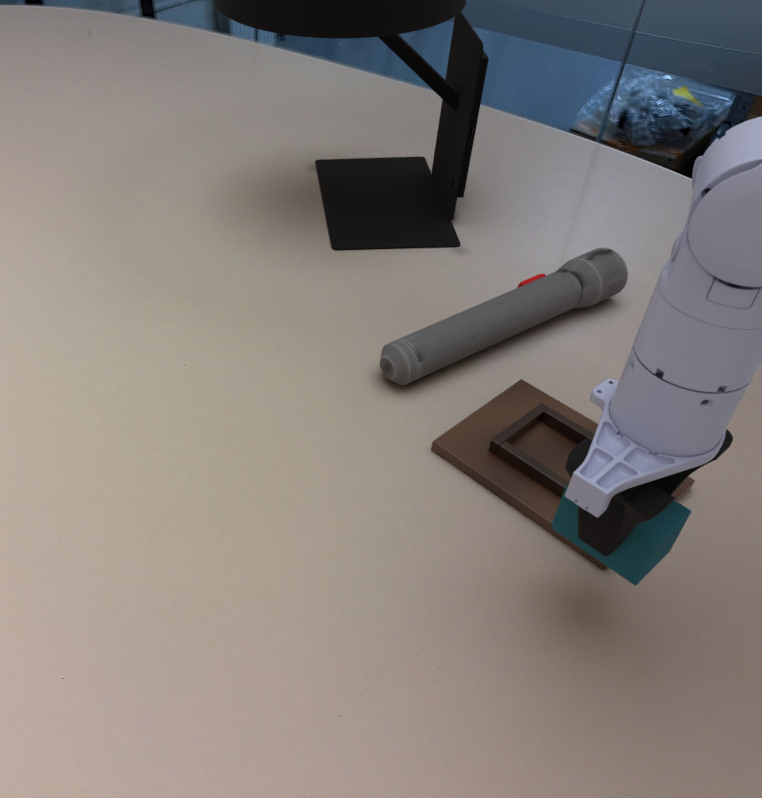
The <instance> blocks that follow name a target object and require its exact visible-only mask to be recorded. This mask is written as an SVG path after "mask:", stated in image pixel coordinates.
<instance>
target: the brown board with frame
mask: <svg viewBox="0 0 762 798" xmlns="http://www.w3.org/2000/svg"><path fill="white" fill-rule="evenodd" d="M598 424H599V423H597V422H596V421H594V420H592V419H591V418H588V417H587V416H585V415H584V414H582V413H580V412H578V411H577V410H575V409H573V408H571V407H570V406H568V405H567V404H564V403H563V402H561V401H560V400H558V399H556V398H555V397H553V396H551V395H550V394H548V393H546V392H545V391H542V390H541V389H540V388H537V387H536V386H534V385H532V384H531V383H529V382H527V381H525V380H524V379H522V378H521V379H519V380H517V381H516V382H514V383H513V384H512V385H511V386H509V387H508V388H506V389H505V390H504V391H502V392H501V393H499V394H497V396H495V397H493V398H492V399H491V400H489V401H488V402H486V403H485V404H484V405H482V406H480V407H479V408H478V409H477V410H475V411H474V412H472V413H470V414H469V415H468V416H467V417H465V418H463V419H462V420H461V421H460V422H458V423H456V424H455V425H453V426H452V427H451V428H449V429H448V430H446V431H445V432H444V433H443V434H441V435H440V436H437V438H435V439H434V440H432V443H431V448H430V449H431V451H433V452H434V453H436V454H437V455H438V456H440V457H441V458H443V459H444V460H445V461H447V462H448V463H450V464H451V465H453V466H454V467H456V468H457V469H458V470H459V471H461V472H463V473H464V474H466V475H467V476H469V478H471V479H472V480H474V481H476V482H477V483H479V484H480V485H481V486H483V487H484V488H486V489H487V490H489V491H490V492H492V493H493V494H494V495H496V496H497V497H499V498H500V499H501V500H503V501H505V502H506V504H508V505H510V506H512V507H513V508H514V509H516V510H517V511H518V512H519V513H522V514H523V515H524V516H526V517H527V518H528V519H530V520H532V521H533V522H535V523H536V524H537V525H539V526H540V527H541V528H543V529H545V530H546V531H547V532H549V533H550V534H552V535H553V536H554V537H556V538H557V539H559V540H561V541H562V542H563V543H565V544H566V545H567V546H569V547H570V548H571V549H572V550H575V551H576V552H577V553H579V554H580V555H582V556H583V557H584V558H586V559H588V560H589V561H590V562H592V563H593V564H595V566H597V567H599V568H601V569H602V570H604V571H606V570H607V569H609V567H607V566H606V565H604V564H603V563H601V562H600V561H598V560H597V559H596V558H594V557H593V556H591V555H590V554H588V553H587V552H585V551H584V550H582V549H581V548H580V547H578V546H577V545H575V544H574V543H572V542H571V541H569V540H568V539H566V538H565V537H564V536H562V535H561V534H559V533H558V532H556V531H555V530H553V529H552V528H551V525H552V522H553V519H554V517H555V514H556V511H557V509H558V506H559V503H560V501H561V498H562V495H563V493H564V490H565V487H566V486H567V485H568V484H569V483H570V480H571V478H570V476H569V474H568V472H567V470H566V468H565V467H566V462H567V458H568V456H569V453H570V451H571V450H572V449H573V448H575V447H576V446H577V445H578V444H579V443H581V442H582V441H583V440H584V439H586V438H589V439H590V440H593V438H594V435H595V432H596V429H597V427H598ZM695 482H696V480H695V479H694V478H692V477H690V476H688V477H687V478H686V479H685V480H684V481H683V482H682V483H681V484H680V486H679V487H678V488H677V489H676V490H675V491H674V493H673V494H672V496H673V497H675V498H676V499H675V500H674V501H676V502H679V500H681V499H682V498H683V497H684V496H685V495H686V494H687V493H688V492H689V491H690V490H691V489H692V487H694V484H695Z"/></svg>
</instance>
